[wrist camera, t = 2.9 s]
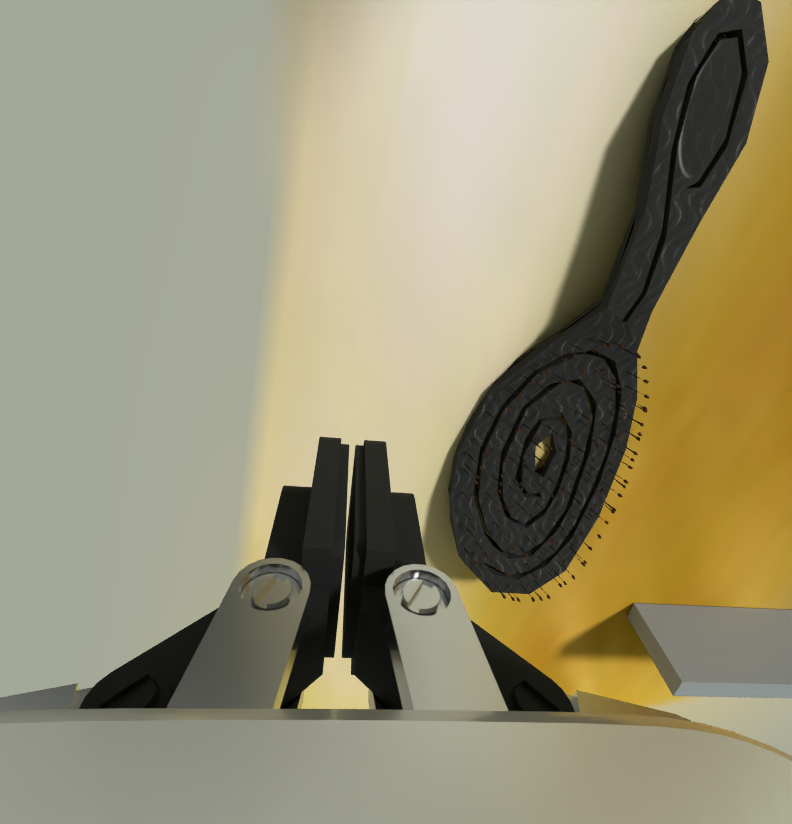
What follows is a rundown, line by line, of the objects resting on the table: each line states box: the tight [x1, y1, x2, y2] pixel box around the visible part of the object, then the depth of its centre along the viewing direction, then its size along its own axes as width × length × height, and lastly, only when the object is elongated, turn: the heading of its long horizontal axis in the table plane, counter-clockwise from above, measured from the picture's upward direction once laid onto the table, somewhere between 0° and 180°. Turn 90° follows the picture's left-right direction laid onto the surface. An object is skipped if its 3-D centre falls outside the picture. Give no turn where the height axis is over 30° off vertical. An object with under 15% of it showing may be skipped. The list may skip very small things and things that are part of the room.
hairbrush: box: [448, 0, 769, 602], centre depth 20 cm, size 8×4×25 cm
